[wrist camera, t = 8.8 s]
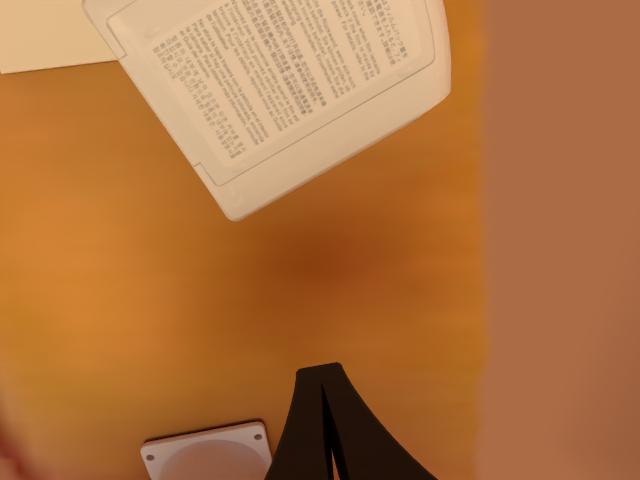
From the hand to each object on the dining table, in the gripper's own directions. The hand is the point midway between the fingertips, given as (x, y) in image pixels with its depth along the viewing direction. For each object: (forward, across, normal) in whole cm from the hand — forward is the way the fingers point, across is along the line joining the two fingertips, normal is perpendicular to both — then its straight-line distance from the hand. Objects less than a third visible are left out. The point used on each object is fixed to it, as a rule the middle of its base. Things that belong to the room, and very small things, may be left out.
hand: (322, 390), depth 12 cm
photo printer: (+8, +5, -8) cm, 12 cm away
